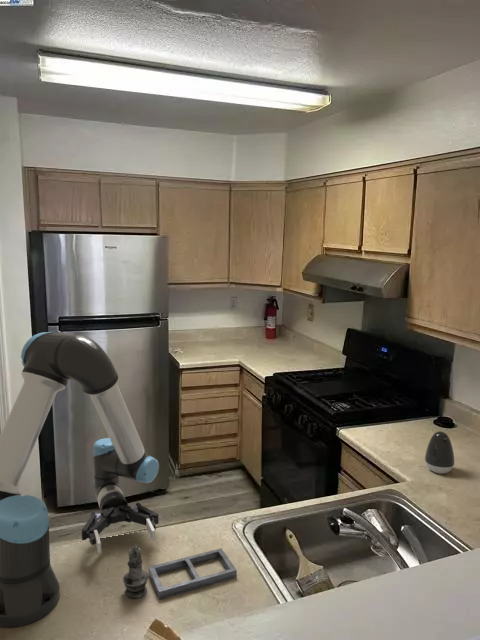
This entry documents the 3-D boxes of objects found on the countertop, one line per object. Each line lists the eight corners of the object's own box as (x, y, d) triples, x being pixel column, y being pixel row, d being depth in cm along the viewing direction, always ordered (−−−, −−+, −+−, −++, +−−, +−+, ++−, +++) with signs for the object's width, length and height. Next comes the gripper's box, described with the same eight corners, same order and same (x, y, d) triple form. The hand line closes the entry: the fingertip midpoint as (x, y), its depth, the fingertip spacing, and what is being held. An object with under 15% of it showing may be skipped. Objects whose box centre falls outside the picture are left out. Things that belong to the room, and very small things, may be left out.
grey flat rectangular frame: (159, 600, 111) (159, 591, 111) (148, 574, 120) (148, 567, 120) (236, 577, 119) (236, 570, 119) (221, 555, 128) (221, 548, 128)
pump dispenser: (431, 477, 175) (433, 436, 173) (420, 465, 186) (421, 427, 184) (459, 476, 176) (461, 436, 174) (446, 465, 186) (448, 426, 184)
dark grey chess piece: (150, 583, 117) (149, 536, 115) (146, 600, 111) (145, 551, 109) (125, 583, 117) (124, 537, 115) (120, 600, 111) (119, 551, 109)
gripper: (154, 506, 146) (175, 544, 127) (68, 525, 136) (75, 568, 117) (154, 483, 146) (174, 517, 126) (66, 499, 135) (74, 539, 116)
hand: (127, 541), depth 122 cm, fingers open, 13 cm apart
